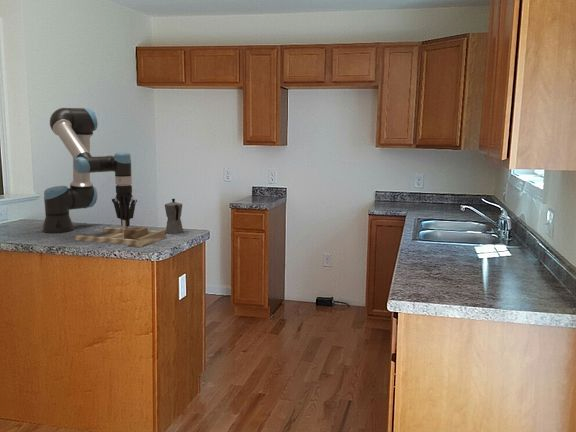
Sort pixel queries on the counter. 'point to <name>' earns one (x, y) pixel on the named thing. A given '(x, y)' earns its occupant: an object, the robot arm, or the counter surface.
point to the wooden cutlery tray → (118, 237)
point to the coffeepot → (173, 217)
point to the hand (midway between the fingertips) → (125, 232)
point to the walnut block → (135, 233)
